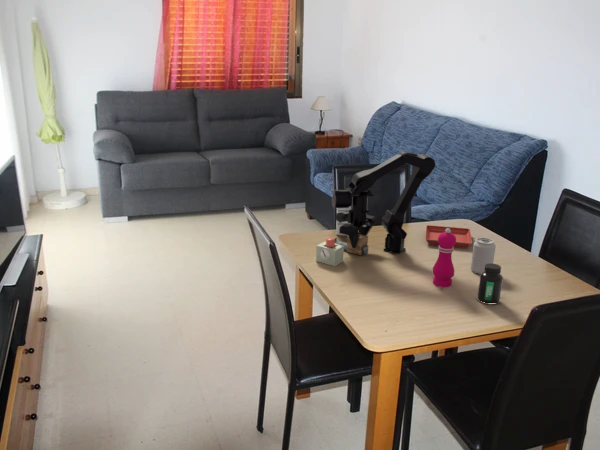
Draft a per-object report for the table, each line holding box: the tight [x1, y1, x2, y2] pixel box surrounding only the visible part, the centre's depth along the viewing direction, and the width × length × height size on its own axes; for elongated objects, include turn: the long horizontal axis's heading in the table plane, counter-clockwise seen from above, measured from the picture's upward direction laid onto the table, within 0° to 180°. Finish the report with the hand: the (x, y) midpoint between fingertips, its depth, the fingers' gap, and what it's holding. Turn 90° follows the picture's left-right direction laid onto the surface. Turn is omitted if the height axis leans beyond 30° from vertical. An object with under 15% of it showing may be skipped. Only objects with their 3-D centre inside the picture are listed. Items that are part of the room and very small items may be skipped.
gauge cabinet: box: [315, 240, 345, 267], centre depth 218 cm, size 8×6×6 cm
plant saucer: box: [424, 224, 473, 249], centre depth 243 cm, size 18×18×3 cm
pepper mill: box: [431, 228, 456, 288], centre depth 200 cm, size 7×7×20 cm
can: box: [470, 237, 496, 275], centre depth 212 cm, size 8×8×12 cm
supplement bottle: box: [477, 262, 504, 304], centre depth 189 cm, size 7×7×12 cm
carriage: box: [346, 234, 369, 256], centre depth 227 cm, size 6×5×6 cm
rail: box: [333, 236, 369, 257], centre depth 230 cm, size 15×3×3 cm, turn 55°
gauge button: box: [325, 237, 335, 248], centre depth 217 cm, size 3×3×4 cm
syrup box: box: [335, 205, 352, 236], centre depth 246 cm, size 6×6×14 cm
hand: (357, 246), depth 228 cm, fingers closed on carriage, 5 cm apart
